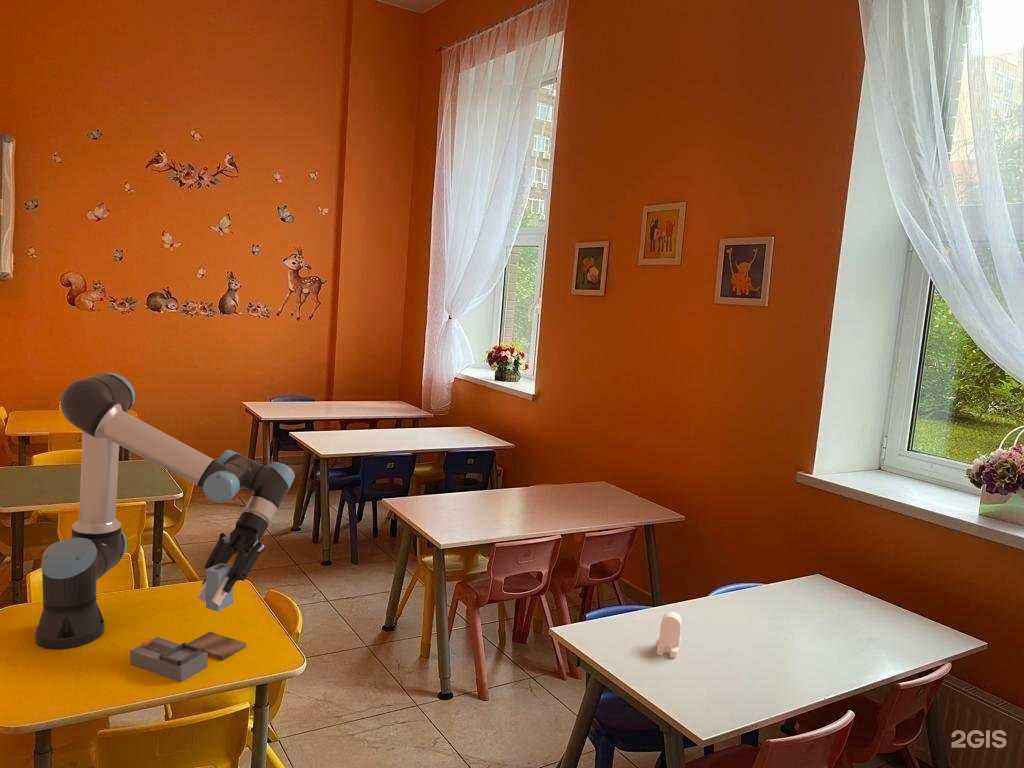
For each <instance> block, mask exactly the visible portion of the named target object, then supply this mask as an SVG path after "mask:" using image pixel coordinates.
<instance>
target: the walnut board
mask: <svg viewBox="0 0 1024 768" xmlns="http://www.w3.org/2000/svg"><path fill="white" fill-rule="evenodd" d="M186 643H187V644H190V645H193V646H196V647H199V648H202V649H204V652H206V653H208V657H211V658H215V659H217V660H220V661H224V660H227V659H228V658H230V657H231V656H234V655H235V654H236V653H238V652H241V649H242V650H243V649H245V648H246V647H247V642H244V641H240V640H239V639H235V638H231V637H228V636H225V635H222V634H218V633H216V632H213V631H209V632H206V633H204V634H202V635H201V636H199V637H197V638H195V639H194V640H193V639H192V640H191V641H189V642H186Z"/></svg>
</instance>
